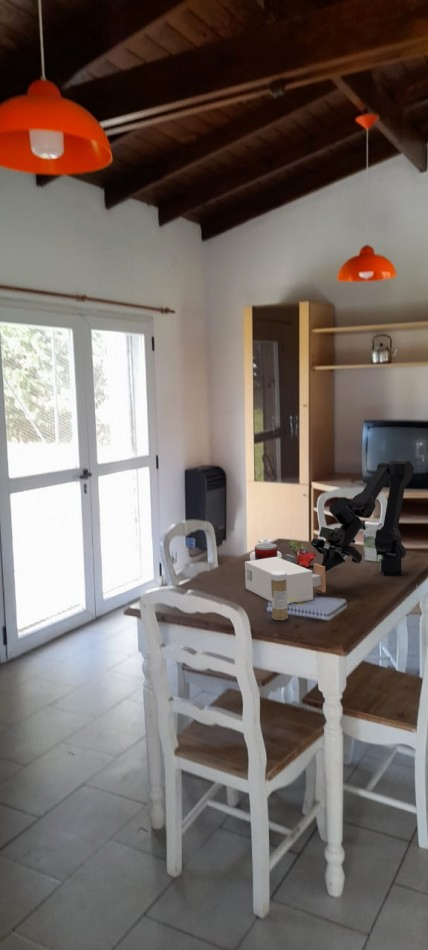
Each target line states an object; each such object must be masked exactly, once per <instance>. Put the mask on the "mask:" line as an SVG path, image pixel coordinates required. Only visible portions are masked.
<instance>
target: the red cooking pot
mask: <svg viewBox="0 0 428 950" xmlns="http://www.w3.org/2000/svg"><path fill="white" fill-rule="evenodd" d="M257 543H258V544H262V543H272V544H273V543H274V540H273V539H270V538H268V537H263V538H261V539H260V540H259V539H258V540H257ZM277 557H279V558H281V559H283V554H282V553H281V552H280V551H278V550H277ZM252 560H255V550H254V551H251V552H250V553H249V561H252Z"/></svg>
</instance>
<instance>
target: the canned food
mask: <svg viewBox="0 0 428 950" xmlns="http://www.w3.org/2000/svg"><path fill="white" fill-rule="evenodd" d="M254 551H255V560H259V559H265V558H272V557H277V551H278V546H277V544H276V543H273V542H272V543H262V544H261V543H258V544H255V545H254Z"/></svg>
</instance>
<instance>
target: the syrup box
mask: <svg viewBox="0 0 428 950" xmlns="http://www.w3.org/2000/svg"><path fill="white" fill-rule="evenodd" d="M364 522H365V526H366V530H362V535H363V536H362V537H363V538H362V539H363V561H364V562H371V563H372V562H374V563H380V559H381V555H377V552H376V548H375V541H374V540H375V537H376V531H377V529H378V530H380V529H381V528H382V527H383V521H380V520H378V521H377V520H366V521H364Z"/></svg>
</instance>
